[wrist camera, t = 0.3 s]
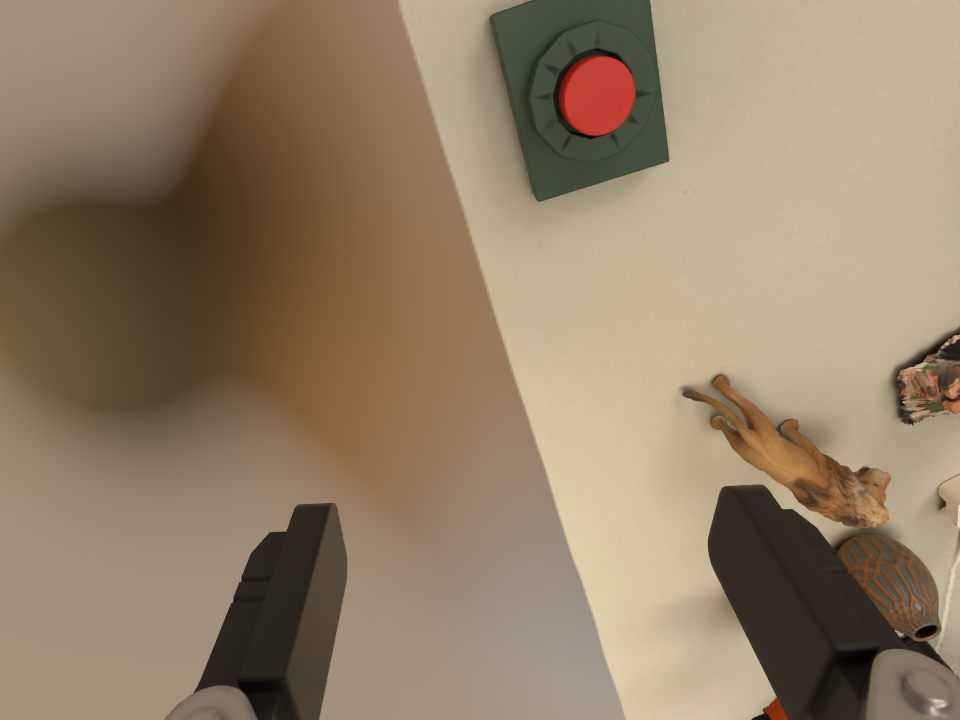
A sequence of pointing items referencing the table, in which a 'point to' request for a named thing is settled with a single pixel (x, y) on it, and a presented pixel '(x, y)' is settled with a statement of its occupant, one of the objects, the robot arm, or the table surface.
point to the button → (596, 95)
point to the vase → (894, 583)
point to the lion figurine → (801, 464)
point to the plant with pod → (932, 384)
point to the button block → (538, 75)
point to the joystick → (951, 499)
